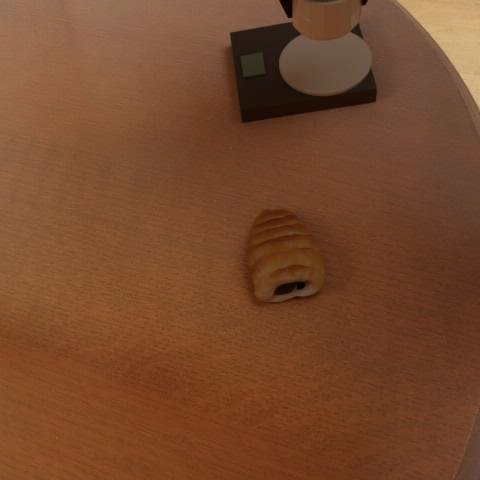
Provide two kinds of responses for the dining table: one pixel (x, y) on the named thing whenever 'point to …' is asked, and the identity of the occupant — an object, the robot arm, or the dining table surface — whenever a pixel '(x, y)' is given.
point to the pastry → (283, 257)
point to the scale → (299, 71)
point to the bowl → (325, 17)
